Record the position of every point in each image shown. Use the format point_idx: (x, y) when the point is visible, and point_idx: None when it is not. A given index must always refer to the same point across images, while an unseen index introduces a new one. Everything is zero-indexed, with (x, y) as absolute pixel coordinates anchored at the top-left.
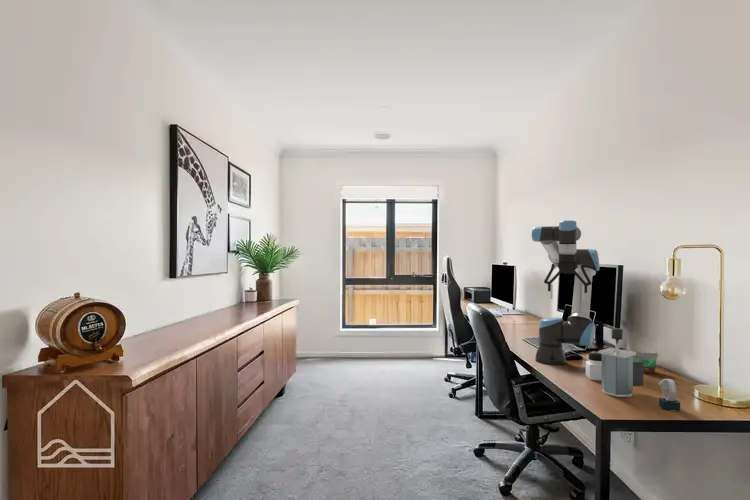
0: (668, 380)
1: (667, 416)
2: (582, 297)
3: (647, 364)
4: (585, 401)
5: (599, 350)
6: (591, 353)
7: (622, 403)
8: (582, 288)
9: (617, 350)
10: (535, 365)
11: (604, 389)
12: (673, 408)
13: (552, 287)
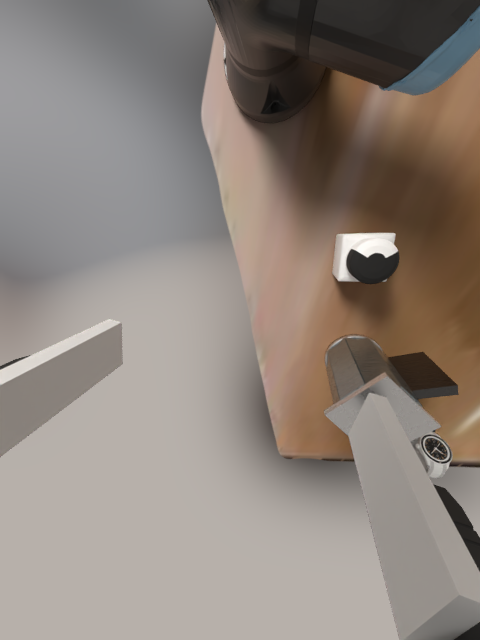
0: (430, 474)
1: None
2: (362, 437)
3: None
4: (276, 401)
5: (329, 412)
6: (355, 270)
7: None
8: (415, 538)
9: None
10: (221, 152)
11: (326, 367)
12: None
13: (16, 378)
